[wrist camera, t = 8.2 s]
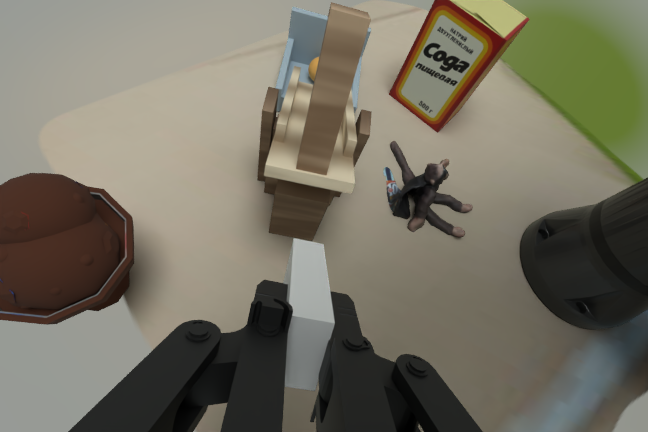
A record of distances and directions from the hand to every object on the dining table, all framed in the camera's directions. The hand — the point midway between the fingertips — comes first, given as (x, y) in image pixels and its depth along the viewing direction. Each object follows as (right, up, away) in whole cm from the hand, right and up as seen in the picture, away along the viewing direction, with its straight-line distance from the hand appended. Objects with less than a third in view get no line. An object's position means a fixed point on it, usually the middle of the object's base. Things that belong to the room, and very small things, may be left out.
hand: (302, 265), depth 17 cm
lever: (0, +11, +17) cm, 21 cm away
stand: (-2, +5, +25) cm, 26 cm away
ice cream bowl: (-21, -4, +17) cm, 27 cm away
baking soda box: (+17, +20, +37) cm, 45 cm away
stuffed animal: (+14, +5, +30) cm, 33 cm away
